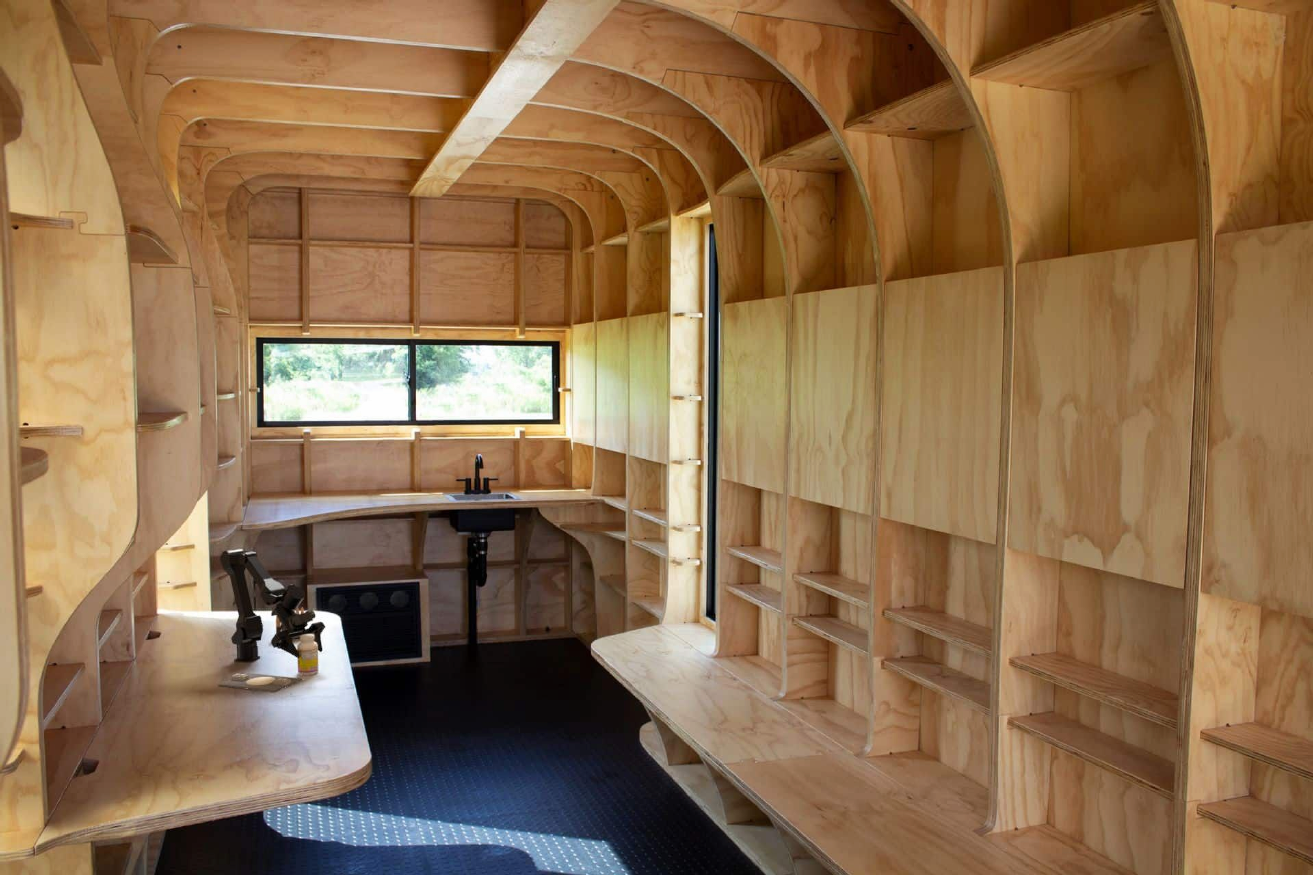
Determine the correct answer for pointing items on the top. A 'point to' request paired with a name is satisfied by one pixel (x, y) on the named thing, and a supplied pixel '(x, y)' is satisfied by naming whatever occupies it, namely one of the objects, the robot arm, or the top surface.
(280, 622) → the ammunition clip
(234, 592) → the robot arm
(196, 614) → the top surface
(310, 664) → the supplement bottle
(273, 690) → the curved gray panel
